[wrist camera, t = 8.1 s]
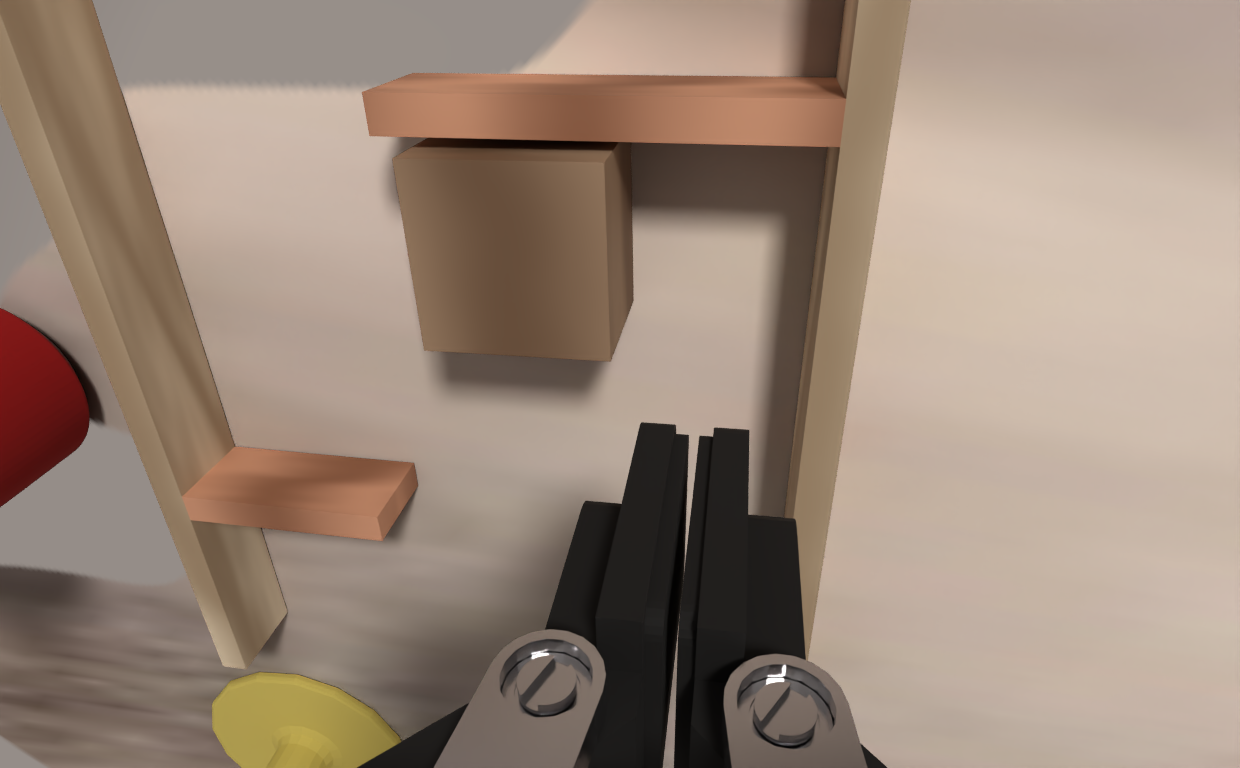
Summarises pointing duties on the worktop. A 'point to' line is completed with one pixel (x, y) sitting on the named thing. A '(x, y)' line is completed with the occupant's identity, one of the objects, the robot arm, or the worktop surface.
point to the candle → (296, 724)
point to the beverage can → (35, 406)
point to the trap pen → (409, 107)
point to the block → (519, 244)
